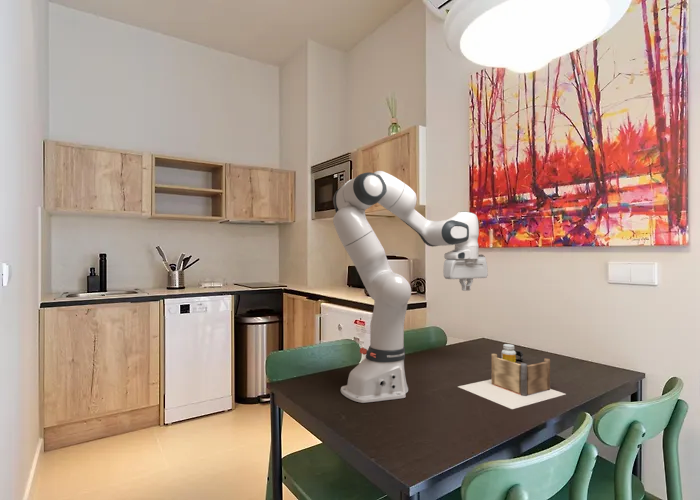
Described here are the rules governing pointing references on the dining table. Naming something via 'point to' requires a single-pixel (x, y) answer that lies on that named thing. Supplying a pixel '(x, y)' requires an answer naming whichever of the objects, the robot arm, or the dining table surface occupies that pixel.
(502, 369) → the folding fence section
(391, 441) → the dining table surface
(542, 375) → the fixed fence section
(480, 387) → the card
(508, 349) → the supplement bottle
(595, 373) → the dining table surface
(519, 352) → the black blocky piece
